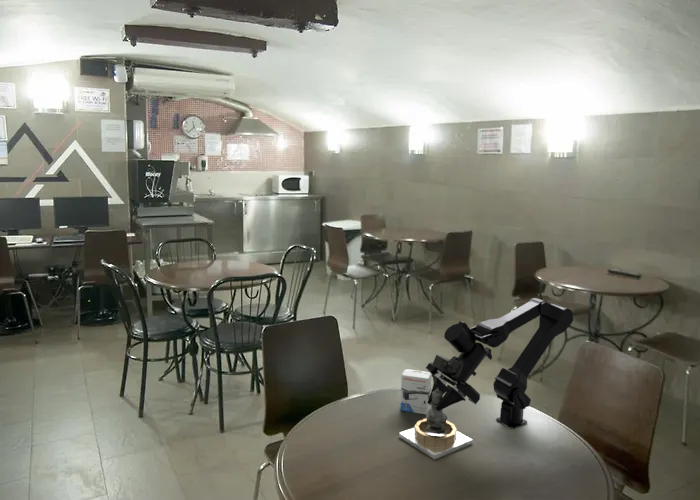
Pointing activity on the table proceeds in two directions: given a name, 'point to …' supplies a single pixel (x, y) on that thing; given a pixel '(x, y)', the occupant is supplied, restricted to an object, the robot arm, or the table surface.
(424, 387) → the ink box
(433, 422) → the grey stone tall piece
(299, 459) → the table surface
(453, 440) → the socket plate
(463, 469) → the table surface
